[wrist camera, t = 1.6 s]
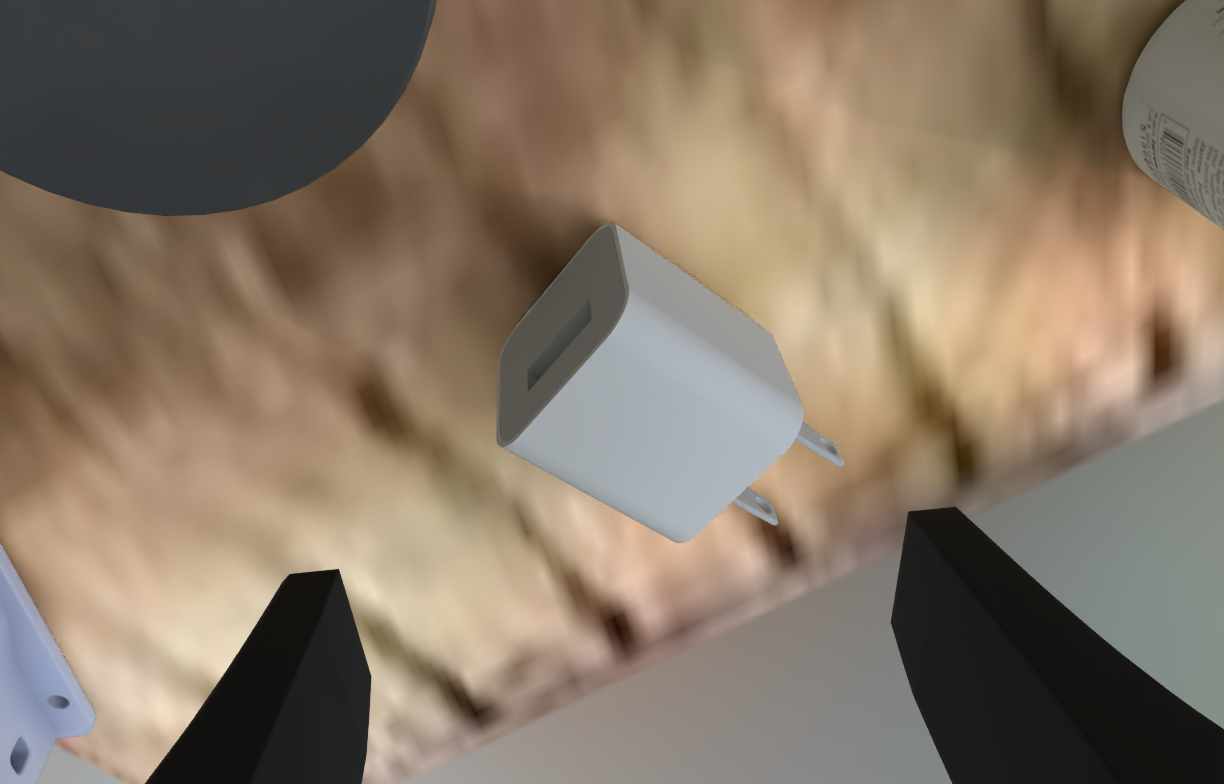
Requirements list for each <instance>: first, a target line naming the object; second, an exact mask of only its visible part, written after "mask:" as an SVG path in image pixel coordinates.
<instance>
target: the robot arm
mask: <svg viewBox="0 0 1224 784" xmlns="http://www.w3.org/2000/svg"><path fill="white" fill-rule="evenodd" d="M891 624H892V628H893V631H894V634H895V638H896V641H897V645H898V648H899V651H900V655H901V658H902V661H903V665H904V668H905V671H906V674H907V677H908V680H909V683H910V686H911V689H912V693H913V696H914V698H915V700H916V703H917V705H918V707H919V709H920V712H921V714H922V717H923V719H924V721H925V723H926V726H927V728H928V730H929V732H930V735H931V737H932V739H933V741H934V744H935V746H936V748H937V750H938V752H939V755H940V757H941V759H942V761H943V764H944V766H945V768H946V770H947V773H948V775H949V777H950V779H951V781H952V784H1224V729H1223V728H1221V727H1219V726H1218V725H1217V724H1215V723H1214V722H1212V721H1211V720H1209V719H1208V718H1207V717H1205V716H1203V715H1202V714H1201V713H1199V712H1198V711H1196V710H1195V709H1193V708H1192V707H1191V706H1189V705H1188V704H1186V703H1185V702H1184V701H1182V700H1181V699H1179V698H1178V697H1177V696H1175V695H1174V694H1173V693H1171V692H1170V691H1169V690H1167V689H1166V688H1165V687H1163V686H1162V685H1161V684H1160V683H1158V682H1157V681H1156V680H1154V679H1153V678H1152V677H1151V676H1149V675H1148V674H1147V673H1145V672H1144V671H1143V670H1142V669H1140V668H1139V667H1138V666H1136V665H1135V664H1134V663H1133V662H1131V661H1130V660H1129V659H1127V658H1126V657H1125V656H1123V655H1122V654H1121V653H1120V652H1119V651H1117V650H1116V649H1115V648H1114V647H1113V646H1111V645H1110V644H1109V643H1108V642H1106V641H1105V640H1104V639H1103V638H1102V637H1100V636H1099V635H1098V634H1097V633H1096V632H1094V631H1093V630H1092V629H1091V628H1090V627H1089V626H1088V625H1086V624H1085V623H1084V622H1083V621H1082V620H1080V619H1079V618H1078V617H1077V616H1075V614H1074V613H1072V612H1071V611H1070V610H1069V609H1068V608H1066V607H1065V606H1064V605H1063V604H1062V603H1061V602H1060V601H1058V600H1057V599H1056V598H1055V597H1054V596H1053V595H1052V594H1050V593H1049V592H1048V591H1047V590H1046V589H1045V588H1044V587H1043V586H1042V585H1040V584H1039V583H1038V582H1037V581H1036V580H1035V579H1034V578H1033V577H1031V576H1030V575H1029V574H1028V573H1027V572H1026V571H1025V570H1024V569H1023V568H1022V567H1021V566H1020V565H1018V564H1017V563H1016V562H1015V561H1014V560H1013V559H1012V558H1011V557H1010V556H1009V555H1007V554H1006V553H1005V552H1004V551H1003V550H1002V549H1001V548H1000V547H999V546H998V545H997V544H996V543H994V542H993V541H992V540H991V539H990V538H989V537H988V536H987V535H986V534H985V533H984V532H983V531H982V530H980V529H979V528H978V527H977V526H976V525H975V524H974V523H973V522H972V521H971V520H970V519H968V518H967V517H966V516H965V515H964V514H963V513H962V512H961V511H960V510H959V509H957V508H956V507H949V508H939V509H929V510H919V511H910V512H908V517H907V524H906V530H905V536H904V543H903V549H902V555H901V561H900V568H899V575H898V580H897V587H896V593H895V600H894V605H893V612H892V618H891ZM370 693H371V674H370V671H369V667H368V664H367V661H366V657H365V654H364V651H363V647H362V644H361V641H360V637H359V634H358V631H357V627H356V624H355V621H354V618H353V614H352V611H351V608H350V604H349V601H348V598H347V594H346V591H345V588H344V584H343V581H342V578H341V574H340V571H339V569H335V570H325V571H315V572H305V573H295V574H289V575H288V577H287V578H286V579H285V580H284V581H283V582H282V584H281V585H280V587H279V589H278V590H277V592H276V593H275V595H274V597H273V598H272V600H271V602H270V603H269V605H268V606H267V608H266V610H265V611H264V613H263V614H262V616H261V618H260V619H259V621H258V622H257V624H256V626H255V627H254V629H253V630H252V632H251V634H250V635H249V637H248V638H247V640H246V641H245V643H244V644H243V646H242V648H241V649H240V651H239V652H238V654H237V655H236V657H235V658H234V660H233V661H232V663H231V664H230V666H229V668H228V669H227V671H226V672H225V673H224V675H223V676H222V678H221V679H220V681H219V682H218V684H217V685H216V687H215V688H214V689H213V691H212V692H211V694H210V695H209V697H208V698H207V700H206V701H205V703H204V704H203V705H202V707H201V708H200V710H199V711H198V713H197V714H196V716H195V717H194V719H193V720H192V721H191V723H190V724H189V726H188V727H187V728H186V730H185V731H184V732H183V734H182V735H181V736H180V738H179V739H178V740H177V742H176V743H175V744H174V746H173V747H172V748H171V750H170V751H169V752H168V754H167V755H166V756H165V758H164V759H163V760H162V762H161V763H160V764H159V765H158V767H157V768H156V769H155V771H154V772H153V773H152V775H151V776H150V777H149V779H148V780H147V781H146V783H145V784H361V783H362V778H363V772H364V766H365V760H366V754H367V740H368V727H369V711H370ZM96 718H97V717H96V713H95V711H94V709H93V708H92V706H91V704H90V702H89V700H88V699H87V697H86V695H85V693H84V692H83V690H82V688H81V686H80V684H79V683H78V681H77V679H76V677H75V675H74V674H73V672H72V670H71V668H70V666H69V665H68V663H67V661H66V659H65V658H64V656H63V654H62V652H61V650H60V649H59V647H58V645H57V643H56V641H55V640H54V638H53V636H52V634H51V632H50V631H49V629H48V627H47V625H46V624H45V622H44V620H43V618H42V616H41V615H40V613H39V611H38V609H37V607H36V606H35V604H34V602H33V600H32V598H31V597H30V595H29V593H28V591H27V589H26V588H25V586H24V584H23V582H22V581H21V579H20V577H19V575H18V573H17V572H16V570H15V568H14V566H13V564H12V563H11V561H10V559H9V557H8V555H7V554H6V552H5V550H4V548H3V547H2V545H1V543H0V784H36V783H37V781H38V779H39V776H40V774H41V772H42V770H43V767H44V765H45V763H46V761H47V758H48V756H49V754H50V752H51V749H52V747H53V745H54V743H55V740H56V739H57V738H67V737H77V736H82V735H85V734H87V733H89V732H90V731H91V730H92V728H93V725H94V723H95V720H96Z"/></svg>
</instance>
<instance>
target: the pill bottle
mask: <svg viewBox="0 0 1224 784" xmlns="http://www.w3.org/2000/svg"><path fill="white" fill-rule="evenodd" d="M1122 126H1123V134H1124V138H1125V141H1126V144H1127V147H1128V150H1129V152H1130V155H1131V156H1132V158H1133V160H1134V162H1135V163H1136V165H1137V166H1138V167H1139V168H1140V169H1141V170H1142V171H1143V172H1144V173H1146V174H1147V175H1148V176H1149V177H1150V178H1151V179H1153V180H1154V181H1156V182H1157V183H1159V184H1160V185H1162V186H1163V187H1164V188H1165V189H1167V190H1168V191H1169V192H1171V193H1172V194H1173V195H1175V196H1176V197H1178V198H1180V199H1181V200H1183V201H1184V202H1185V203H1187V204H1188V205H1190V206H1191V207H1192V208H1194V209H1195V210H1196V211H1198V212H1199V213H1200V214H1202V215H1203V216H1205V217H1206V218H1208V219H1209V220H1211V221H1212V222H1213V223H1215V224H1216V225H1218V226H1219V227H1220V228H1222V229H1223V230H1224V0H1185V1H1184V2H1183V3H1182V4H1181V5H1180V6H1179V7H1177V8H1176V9H1175V10H1174V11H1173V12H1172V14H1171V15H1170V16H1169V17H1168V18H1167V19H1166V20H1165V21H1164V22H1163V24H1162V25H1161V26H1160V27H1159V28H1158V30H1157V31H1156V32H1155V33H1154V35H1153V36H1152V37H1151V39H1150V40H1149V42H1148V43H1147V45H1146V46H1145V48H1144V50H1143V51H1142V53H1141V55H1140V57H1139V58H1138V60H1137V62H1136V64H1135V66H1134V68H1133V71H1132V74H1131V77H1130V80H1129V82H1128V85H1127V88H1126V91H1125V95H1124V98H1123V109H1122Z"/></svg>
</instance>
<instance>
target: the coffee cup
mask: <svg viewBox="0 0 1224 784" xmlns="http://www.w3.org/2000/svg"><path fill="white" fill-rule="evenodd" d="M435 6H436V0H0V170H1V171H3V172H5V173H7V174H9V175H11V176H13V177H15V178H18V179H20V180H22V181H25V182H27V183H29V184H32V185H34V186H36V187H39V188H41V189H44V190H46V191H48V192H51V193H54V194H57V195H61V196H64V197H67V198H70V199H73V200H77V201H80V202H83V203H86V204H90V205H95V206H100V207H104V208H109V209H114V210H119V211H124V212H131V213H141V214H152V215H163V216H179V215H207V214H214V213H220V212H227V211H234V210H241V209H244V208H248V207H251V206H255V205H259V204H262V203H266V202H269V201H273V200H275V199H278V198H280V197H282V196H285V195H287V194H289V193H292V192H294V191H296V190H299V189H301V188H303V187H306V186H307V185H309V184H311V183H312V182H314V181H315V180H317V179H319V178H320V177H322V176H324V175H325V174H327V173H329V172H330V171H332V170H334V169H335V168H336V167H337V166H339V165H340V164H341V163H342V162H344V161H345V160H346V159H347V158H348V157H350V156H351V155H352V154H353V153H354V152H356V151H357V150H358V149H359V148H360V147H362V145H363V144H364V143H365V142H366V141H367V140H368V139H369V138H370V137H371V135H372V134H373V133H374V132H375V131H376V130H377V129H378V128H379V127H380V126H381V124H382V123H383V122H384V121H385V120H386V118H387V117H388V115H389V114H390V112H391V111H392V109H393V108H394V106H395V105H396V103H397V102H398V100H399V99H400V97H401V96H402V94H403V93H404V91H405V89H406V87H407V85H408V83H409V81H410V79H411V76H412V74H413V72H414V70H415V68H416V66H417V64H418V62H419V60H420V58H421V55H422V51H423V48H424V45H425V42H426V39H427V36H428V32H429V29H430V26H431V23H432V20H433V16H434V12H435Z"/></svg>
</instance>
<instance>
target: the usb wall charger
mask: <svg viewBox="0 0 1224 784" xmlns="http://www.w3.org/2000/svg"><path fill="white" fill-rule="evenodd" d="M803 415H804V411H803V405H802V403H801V400H800V398H799V396H798V393H797V391H796V389H795V386H794V384H793V382H792V379H791V377H790V375H789V372H788V370H787V368H786V365H785V363H784V361H783V358H782V356H781V354H780V351H779V349H778V347H777V344H776V342H775V340H774V337H773V335H772V334H771V333H770V332H769V331H768V330H766V329H765V328H763V327H762V326H760V325H759V324H758V323H756V322H755V321H753V320H752V319H750V318H749V317H748V316H746V315H745V314H743V313H742V312H741V311H739V310H738V309H736V308H735V307H733V306H732V305H731V304H729V303H728V302H726V301H725V300H723V299H722V298H721V297H719V296H718V295H716V294H715V293H714V292H712V291H711V290H709V289H708V288H706V287H705V286H704V285H702V284H701V283H699V282H698V281H696V280H695V279H694V278H692V277H691V276H689V275H688V274H687V273H685V272H684V271H682V270H681V269H679V268H678V267H677V266H675V265H674V264H672V263H671V262H670V261H668V260H667V259H665V258H664V257H662V256H661V255H660V254H658V253H657V252H655V251H654V250H652V249H651V248H650V247H648V246H647V245H645V244H644V243H643V242H641V241H640V240H638V239H637V238H635V237H634V236H633V235H631V234H630V233H628V232H627V231H625V230H624V229H623V228H621V227H620V226H618V225H617V224H616V223H614V222H607V223H605V224H603V225H602V226H600V227H599V228H598V229H597V230H596V231H595V232H594V233H593V234H592V235H591V236H590V237H589V239H588V240H587V241H586V242H585V243H584V245H583V246H582V247H581V248H580V249H579V251H578V252H577V253H576V254H575V255H574V257H573V258H572V259H571V260H570V261H569V263H568V264H567V265H566V266H565V267H564V269H563V270H562V271H561V272H560V273H559V275H558V276H557V277H556V278H555V279H554V281H553V282H552V283H551V284H550V285H549V287H548V288H547V289H546V290H545V291H544V293H543V294H542V295H541V296H540V297H539V299H538V300H537V301H536V302H535V303H534V305H533V306H532V307H531V308H530V309H529V311H528V312H527V313H526V314H525V315H524V317H523V318H522V319H521V320H520V321H519V323H518V324H517V325H516V326H515V328H514V329H513V330H512V332H511V333H510V335H509V337H508V338H507V340H506V342H505V344H504V346H503V348H502V351H501V353H500V356H499V360H498V384H497V443H498V445H499V446H500V447H502V448H504V449H506V450H508V451H510V452H511V453H513V454H515V455H517V456H519V457H521V458H522V459H524V460H526V461H528V462H530V463H532V464H533V465H535V466H537V467H539V468H541V469H542V470H544V471H546V472H548V473H550V474H552V475H553V476H555V477H557V478H559V479H561V480H563V481H564V482H566V483H568V484H570V485H572V486H573V487H575V488H577V489H579V490H581V491H583V492H584V493H586V494H588V495H590V496H592V497H594V498H595V499H597V500H599V501H601V502H603V503H604V504H606V505H608V506H610V507H612V508H614V509H615V510H617V511H619V512H621V513H623V514H625V515H626V516H628V517H630V518H632V519H634V520H635V521H637V522H639V523H641V524H643V525H645V526H646V527H648V528H650V529H652V530H654V531H656V532H657V533H659V534H661V535H663V536H665V537H667V538H668V539H670V540H672V541H674V542H676V543H683V542H686V541H689V540H690V539H692V538H693V537H695V536H696V535H697V534H698V533H699V532H700V531H701V530H702V529H703V528H704V527H706V526H707V525H708V524H709V523H710V522H711V521H712V520H713V519H714V518H715V517H716V516H717V515H718V514H719V513H721V512H722V511H723V510H724V509H725V508H726V507H727V506H728V505H729V504H730V503H731V502H732V503H734V504H736V505H738V506H739V507H741V508H743V509H744V510H746V511H748V512H750V513H752V514H754V515H755V516H757V517H759V518H761V519H763V520H765V521H767V522H769V523H770V524H772V525H777V524H778V520H777V517H776V514H775V511H774V508H773V505H772V503H771V502H769V501H768V500H766V499H765V498H763V497H762V496H760V495H759V494H757V493H756V492H754V491H753V490H751V489H750V488H748V486H749V485H750V484H752V483H753V482H754V481H755V480H756V479H757V478H758V477H759V476H760V475H761V474H762V473H763V472H764V471H765V470H767V469H768V468H769V467H770V466H771V465H772V464H773V463H774V462H775V461H776V460H777V459H778V458H779V457H780V456H782V455H783V454H784V453H785V452H786V451H787V450H788V448H789V447H790V446H791V445H792V443H793V442H794V440H797V441H798V442H800V443H801V444H803V445H805V446H806V447H808V448H809V449H811V450H812V451H814V452H816V453H817V454H819V455H821V456H822V457H824V458H826V459H827V460H829V461H831V462H832V463H834V464H836V465H837V466H840V467H841V466H843V465H844V463H843V460H842V458H841V456H840V454H839V451H838V449H837V447H836V445H835V444H834V443H832V442H831V441H830V440H828V439H827V438H825V437H824V436H823V435H821V434H820V433H818V432H817V431H816V430H814V429H813V428H811V427H810V426H809V425H807V424H806V423H804V422H803ZM824 446H825V447H826V448H827V449H826V448H825V447H824ZM757 503H759V504H760V505H761V506H762V507H763V508H764V509H765V511H766V512H764V511H763V510H762V509H761V508H760V507H759V505H758V504H757Z"/></svg>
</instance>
